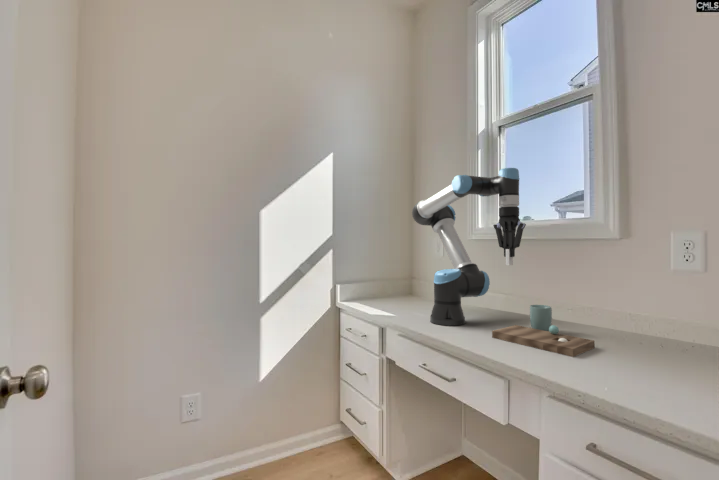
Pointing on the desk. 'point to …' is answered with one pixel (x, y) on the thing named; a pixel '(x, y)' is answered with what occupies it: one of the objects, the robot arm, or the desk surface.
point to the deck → (544, 340)
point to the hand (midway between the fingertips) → (509, 265)
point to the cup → (540, 317)
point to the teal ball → (553, 329)
